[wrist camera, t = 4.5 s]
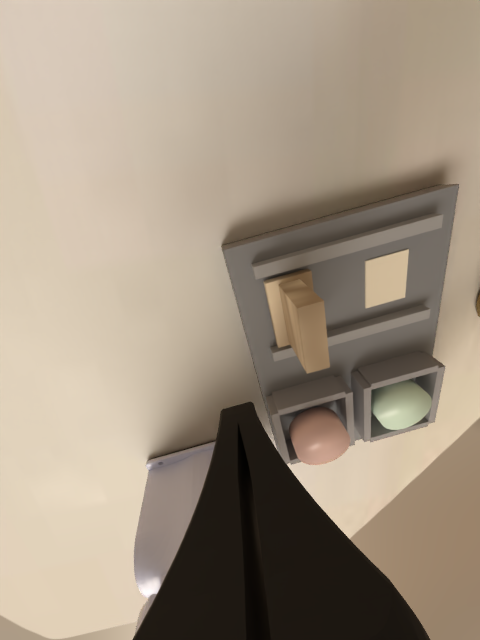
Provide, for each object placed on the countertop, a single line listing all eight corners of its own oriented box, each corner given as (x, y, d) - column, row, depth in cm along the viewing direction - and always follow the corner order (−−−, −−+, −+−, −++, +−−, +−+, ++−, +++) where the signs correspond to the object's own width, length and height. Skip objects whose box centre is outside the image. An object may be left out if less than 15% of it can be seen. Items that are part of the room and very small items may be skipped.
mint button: (366, 417, 23) (379, 435, 22) (366, 382, 21) (380, 399, 20) (411, 404, 23) (428, 421, 22) (415, 368, 21) (434, 384, 20)
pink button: (292, 448, 22) (300, 470, 21) (284, 415, 20) (292, 436, 19) (339, 435, 22) (351, 456, 21) (336, 401, 20) (349, 421, 19)
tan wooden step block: (276, 343, 19) (294, 381, 15) (263, 280, 16) (280, 307, 12) (315, 332, 19) (343, 367, 15) (307, 268, 16) (338, 291, 12)
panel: (277, 448, 27) (286, 481, 24) (221, 245, 17) (225, 257, 14) (411, 410, 27) (438, 438, 24) (438, 184, 17) (492, 183, 14)
